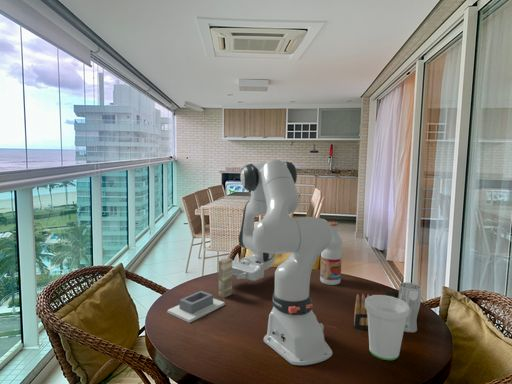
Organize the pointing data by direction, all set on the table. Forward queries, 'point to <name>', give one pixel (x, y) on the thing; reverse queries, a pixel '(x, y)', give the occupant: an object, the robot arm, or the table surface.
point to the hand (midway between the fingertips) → (227, 274)
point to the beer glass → (410, 303)
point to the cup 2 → (386, 325)
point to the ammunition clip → (360, 313)
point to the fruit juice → (332, 259)
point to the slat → (225, 277)
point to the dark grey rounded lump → (392, 293)
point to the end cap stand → (195, 306)
